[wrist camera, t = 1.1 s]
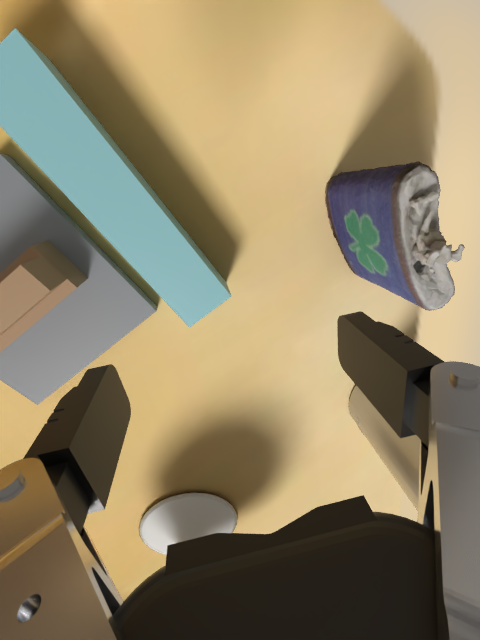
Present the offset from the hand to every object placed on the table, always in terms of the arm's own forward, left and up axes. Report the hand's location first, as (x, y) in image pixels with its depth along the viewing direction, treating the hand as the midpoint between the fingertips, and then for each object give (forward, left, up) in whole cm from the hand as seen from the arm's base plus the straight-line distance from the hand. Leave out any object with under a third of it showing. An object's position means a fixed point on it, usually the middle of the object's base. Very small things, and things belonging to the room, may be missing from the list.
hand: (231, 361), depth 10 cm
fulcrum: (+13, -7, -15) cm, 21 cm away
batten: (+2, -7, -16) cm, 17 cm away
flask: (-11, +5, -16) cm, 20 cm away
